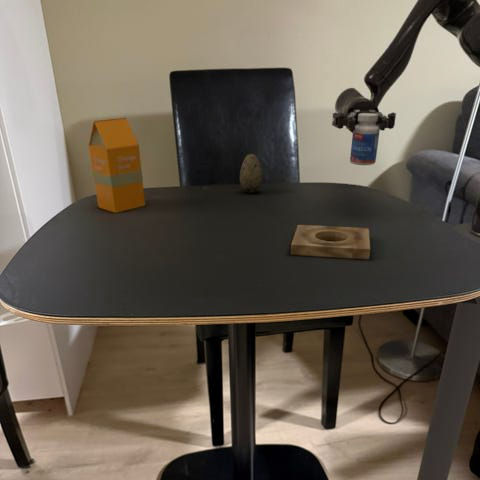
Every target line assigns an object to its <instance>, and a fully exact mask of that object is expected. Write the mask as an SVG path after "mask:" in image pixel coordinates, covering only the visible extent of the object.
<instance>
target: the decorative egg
mask: <svg viewBox="0 0 480 480" xmlns="http://www.w3.org/2000/svg"><path fill="white" fill-rule="evenodd" d="M262 182H263V172H262V168H261V164H260V161H259V159H258V158H257V156H256V155H255V154H253V153H249V154H247V155H246V156H245V157H244V159H243V162H242V164H241V167H240V172H239V183H240V187H241V188H242V189H243V190H244V191H245V192H246V193H249V194H250V193H251V194H253V193H255V192H257V191H259V189H260V187H261V186H262Z"/></svg>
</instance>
